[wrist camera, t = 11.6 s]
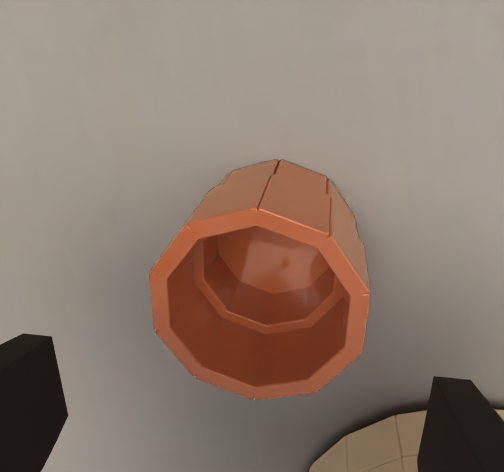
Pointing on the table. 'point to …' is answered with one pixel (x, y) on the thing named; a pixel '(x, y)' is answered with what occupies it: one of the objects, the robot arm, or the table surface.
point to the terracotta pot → (265, 284)
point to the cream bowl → (378, 447)
